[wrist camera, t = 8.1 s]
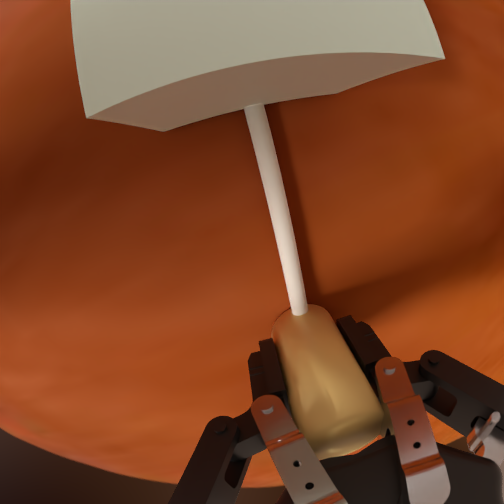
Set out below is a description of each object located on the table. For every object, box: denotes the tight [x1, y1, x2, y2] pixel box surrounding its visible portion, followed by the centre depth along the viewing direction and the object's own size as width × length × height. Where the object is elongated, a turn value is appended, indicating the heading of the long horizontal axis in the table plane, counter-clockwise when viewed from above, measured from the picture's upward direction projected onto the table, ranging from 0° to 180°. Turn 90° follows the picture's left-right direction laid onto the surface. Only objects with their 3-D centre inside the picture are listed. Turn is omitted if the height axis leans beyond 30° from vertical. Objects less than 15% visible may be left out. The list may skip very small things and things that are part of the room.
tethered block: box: [71, 0, 445, 460], centre depth 8 cm, size 20×8×7 cm, turn 14°
